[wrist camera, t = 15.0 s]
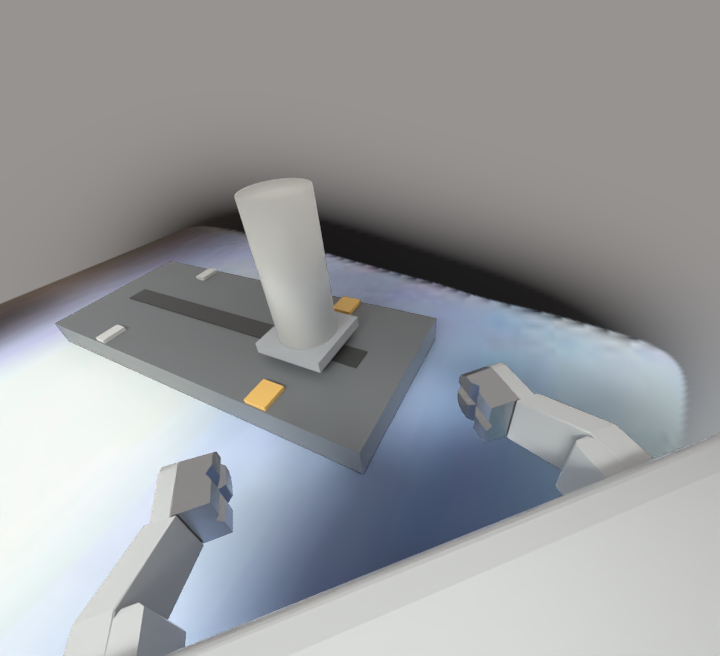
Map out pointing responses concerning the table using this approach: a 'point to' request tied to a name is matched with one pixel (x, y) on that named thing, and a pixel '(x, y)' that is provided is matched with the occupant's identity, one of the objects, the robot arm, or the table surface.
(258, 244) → the fader knob
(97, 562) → the table surface
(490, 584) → the robot arm
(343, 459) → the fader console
